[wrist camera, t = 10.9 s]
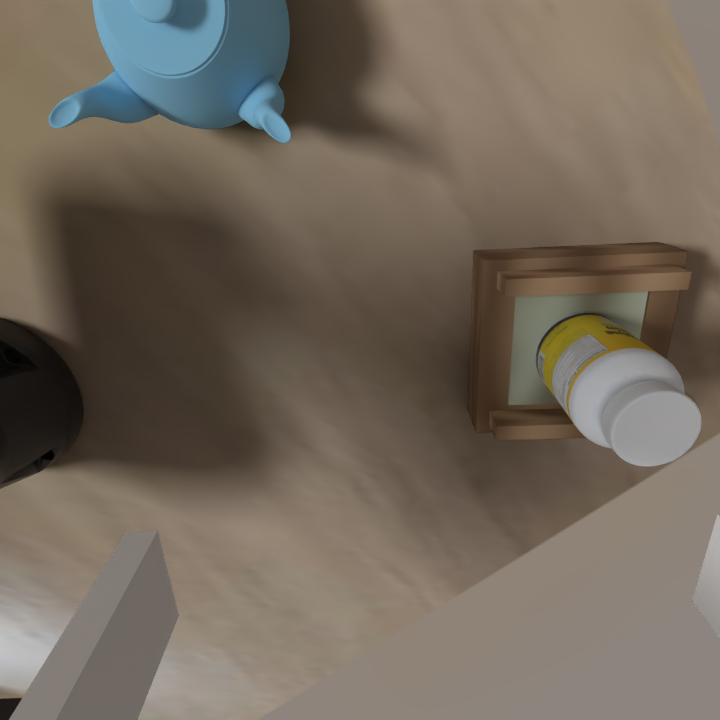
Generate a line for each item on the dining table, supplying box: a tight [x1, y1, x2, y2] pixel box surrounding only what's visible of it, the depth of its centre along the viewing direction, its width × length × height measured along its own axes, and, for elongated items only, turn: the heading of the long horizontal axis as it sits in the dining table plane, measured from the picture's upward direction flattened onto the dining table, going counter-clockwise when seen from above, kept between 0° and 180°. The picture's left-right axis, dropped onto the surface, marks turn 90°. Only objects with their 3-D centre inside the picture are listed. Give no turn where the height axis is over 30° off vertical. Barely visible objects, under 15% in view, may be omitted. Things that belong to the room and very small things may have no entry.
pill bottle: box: [535, 312, 702, 467], centre depth 32 cm, size 6×6×12 cm
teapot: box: [49, 0, 291, 143], centre depth 29 cm, size 13×13×10 cm
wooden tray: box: [468, 242, 692, 440], centre depth 38 cm, size 14×14×6 cm
